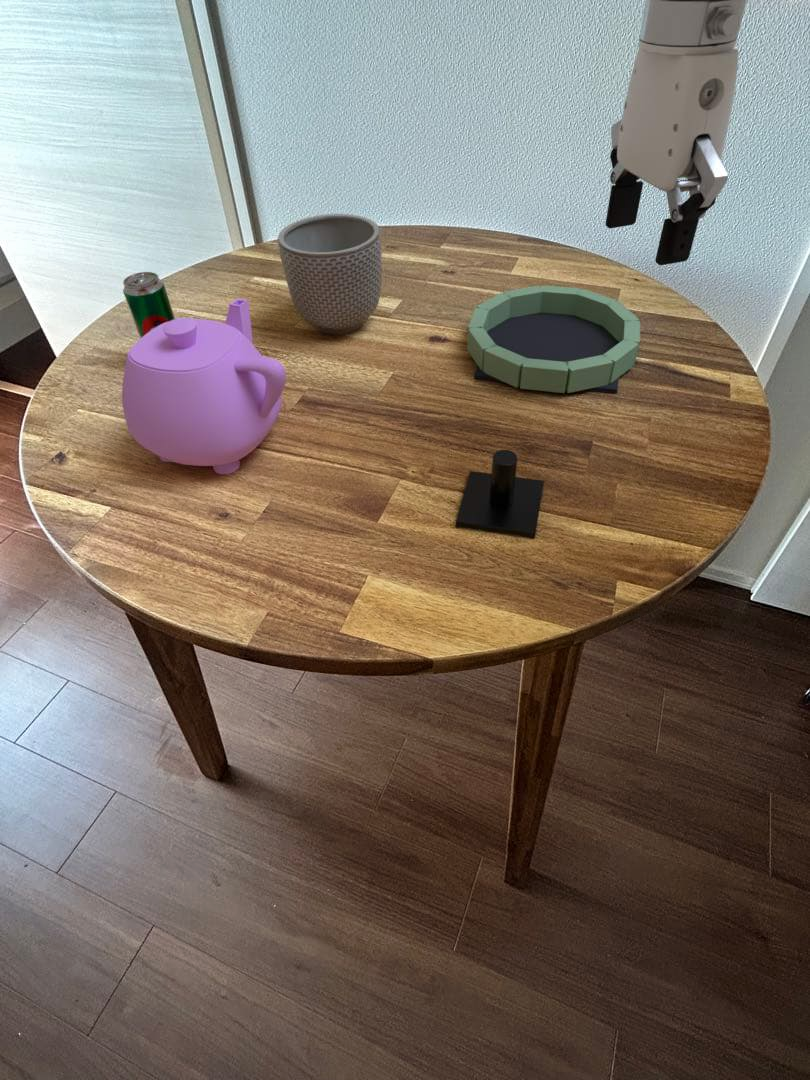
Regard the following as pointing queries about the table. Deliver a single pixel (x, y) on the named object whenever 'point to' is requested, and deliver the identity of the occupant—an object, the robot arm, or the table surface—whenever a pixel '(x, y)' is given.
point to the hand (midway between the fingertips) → (644, 242)
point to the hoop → (546, 371)
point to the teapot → (202, 391)
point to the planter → (333, 269)
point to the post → (501, 499)
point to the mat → (552, 340)
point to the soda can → (147, 301)
